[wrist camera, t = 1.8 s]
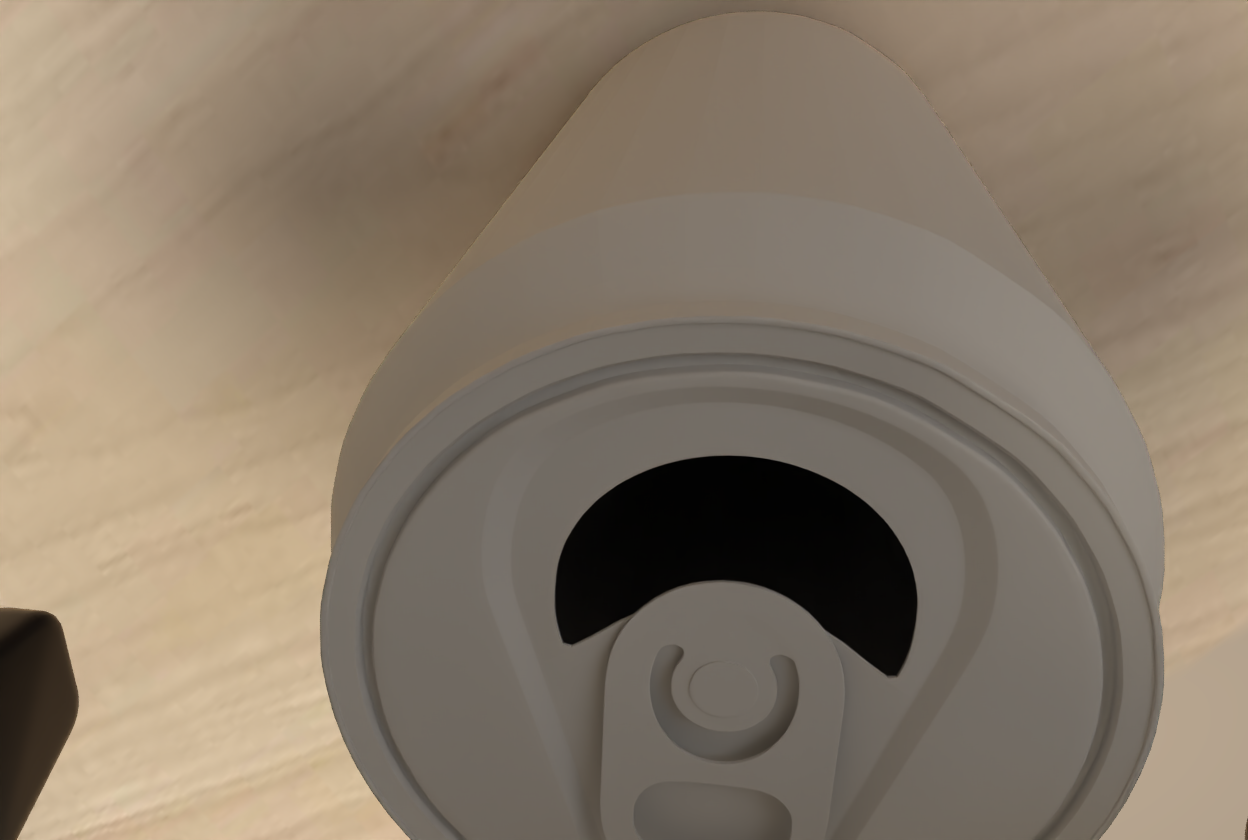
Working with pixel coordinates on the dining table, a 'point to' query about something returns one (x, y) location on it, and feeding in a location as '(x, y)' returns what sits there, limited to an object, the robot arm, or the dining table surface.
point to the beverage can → (746, 488)
